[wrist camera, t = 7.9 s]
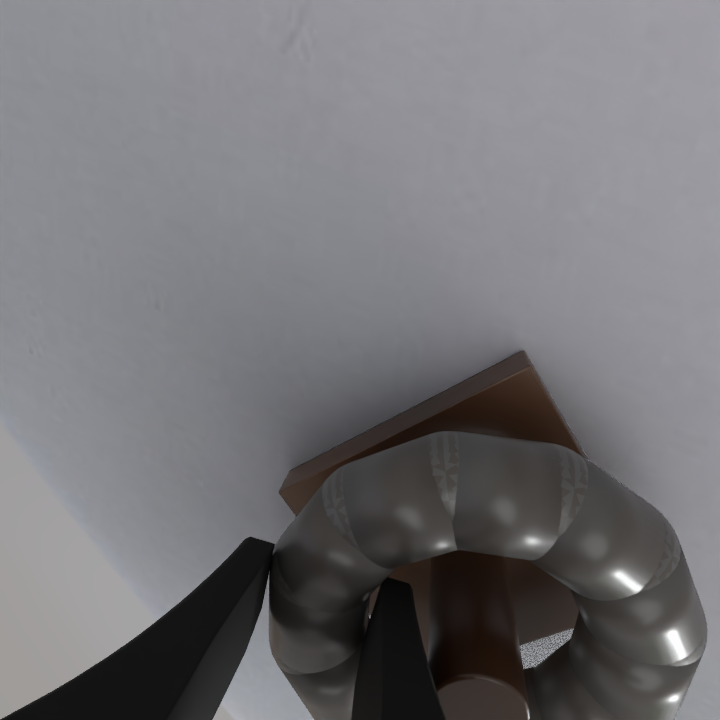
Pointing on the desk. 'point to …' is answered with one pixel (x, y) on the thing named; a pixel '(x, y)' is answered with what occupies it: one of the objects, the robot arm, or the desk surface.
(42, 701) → the robot arm
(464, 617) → the post
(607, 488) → the donut
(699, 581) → the desk surface
